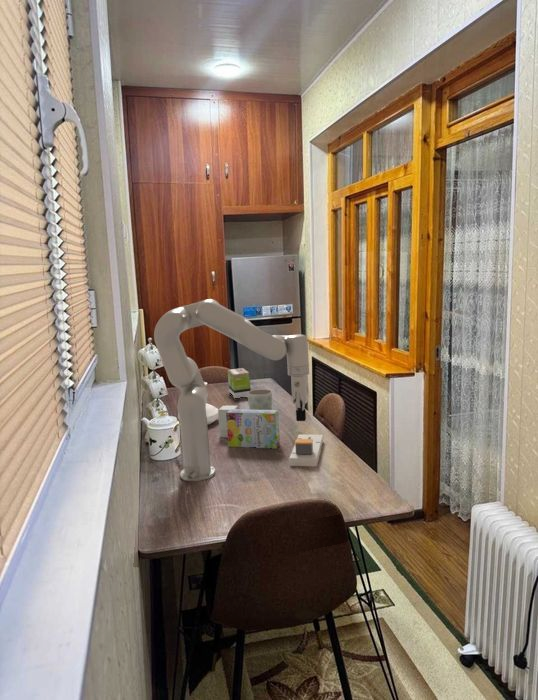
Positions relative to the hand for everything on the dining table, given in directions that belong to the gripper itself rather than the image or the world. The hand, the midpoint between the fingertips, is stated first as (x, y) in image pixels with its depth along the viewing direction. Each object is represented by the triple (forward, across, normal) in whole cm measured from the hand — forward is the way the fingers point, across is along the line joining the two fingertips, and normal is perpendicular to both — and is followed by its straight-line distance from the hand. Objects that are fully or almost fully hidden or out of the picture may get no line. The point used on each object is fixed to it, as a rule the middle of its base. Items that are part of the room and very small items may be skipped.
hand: (301, 420), depth 176 cm
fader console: (+18, +15, 0) cm, 23 cm away
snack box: (+18, +22, +24) cm, 37 cm away
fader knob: (+15, +7, 0) cm, 16 cm away
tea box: (+18, +104, +50) cm, 117 cm away
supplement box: (+18, +35, +38) cm, 54 cm away
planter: (+18, +69, +30) cm, 77 cm away
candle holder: (+18, +52, +58) cm, 79 cm away
